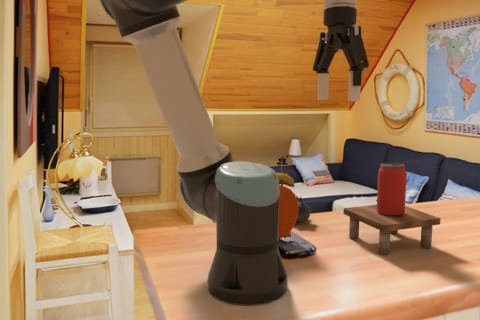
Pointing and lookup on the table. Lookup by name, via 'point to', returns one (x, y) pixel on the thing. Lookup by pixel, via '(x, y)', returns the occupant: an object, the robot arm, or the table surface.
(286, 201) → the alarm clock
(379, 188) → the beer can
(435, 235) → the table surface
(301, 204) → the frog
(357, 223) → the peg shelf
